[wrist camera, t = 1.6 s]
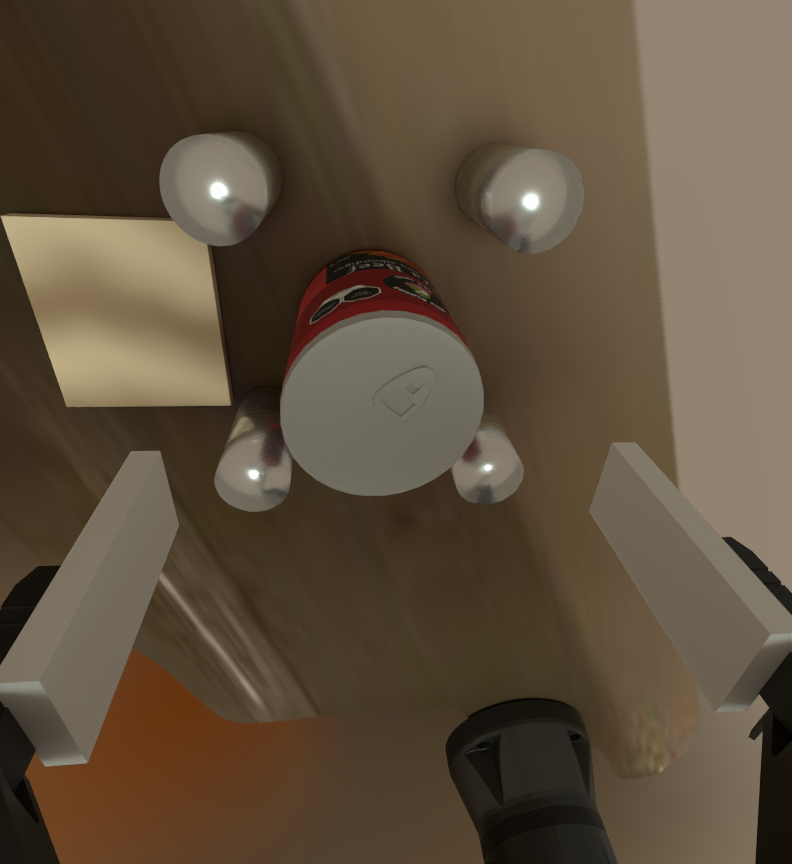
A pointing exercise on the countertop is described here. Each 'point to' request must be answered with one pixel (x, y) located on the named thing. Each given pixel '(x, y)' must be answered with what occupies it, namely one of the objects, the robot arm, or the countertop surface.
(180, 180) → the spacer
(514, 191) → the cylinder
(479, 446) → the cylinder
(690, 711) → the countertop surface
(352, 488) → the canned food
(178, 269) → the coaster
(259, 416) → the cylinder
